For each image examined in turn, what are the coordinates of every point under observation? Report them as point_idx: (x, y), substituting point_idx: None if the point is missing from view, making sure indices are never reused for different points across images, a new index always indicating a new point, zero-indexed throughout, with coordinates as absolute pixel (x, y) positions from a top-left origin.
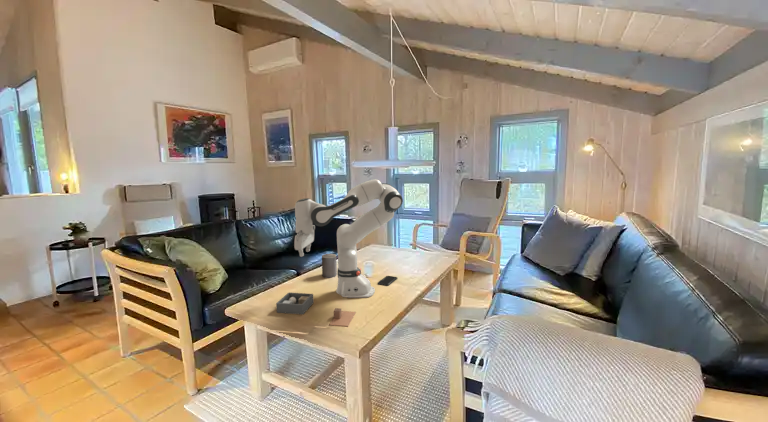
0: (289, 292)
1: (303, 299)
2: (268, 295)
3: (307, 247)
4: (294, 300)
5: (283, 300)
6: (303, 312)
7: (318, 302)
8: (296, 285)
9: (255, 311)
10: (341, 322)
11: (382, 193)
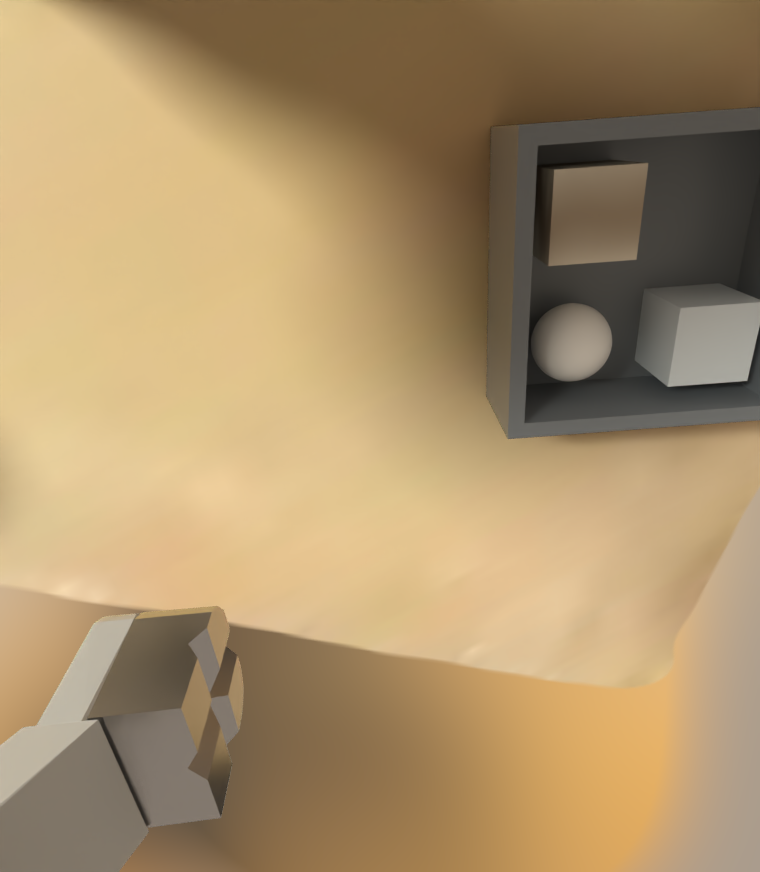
0: (508, 430)
1: (640, 196)
2: (388, 610)
3: (104, 837)
4: (596, 314)
5: (655, 403)
6: None
7: (450, 80)
8: (111, 517)
9: (680, 546)
10: None
11: None
